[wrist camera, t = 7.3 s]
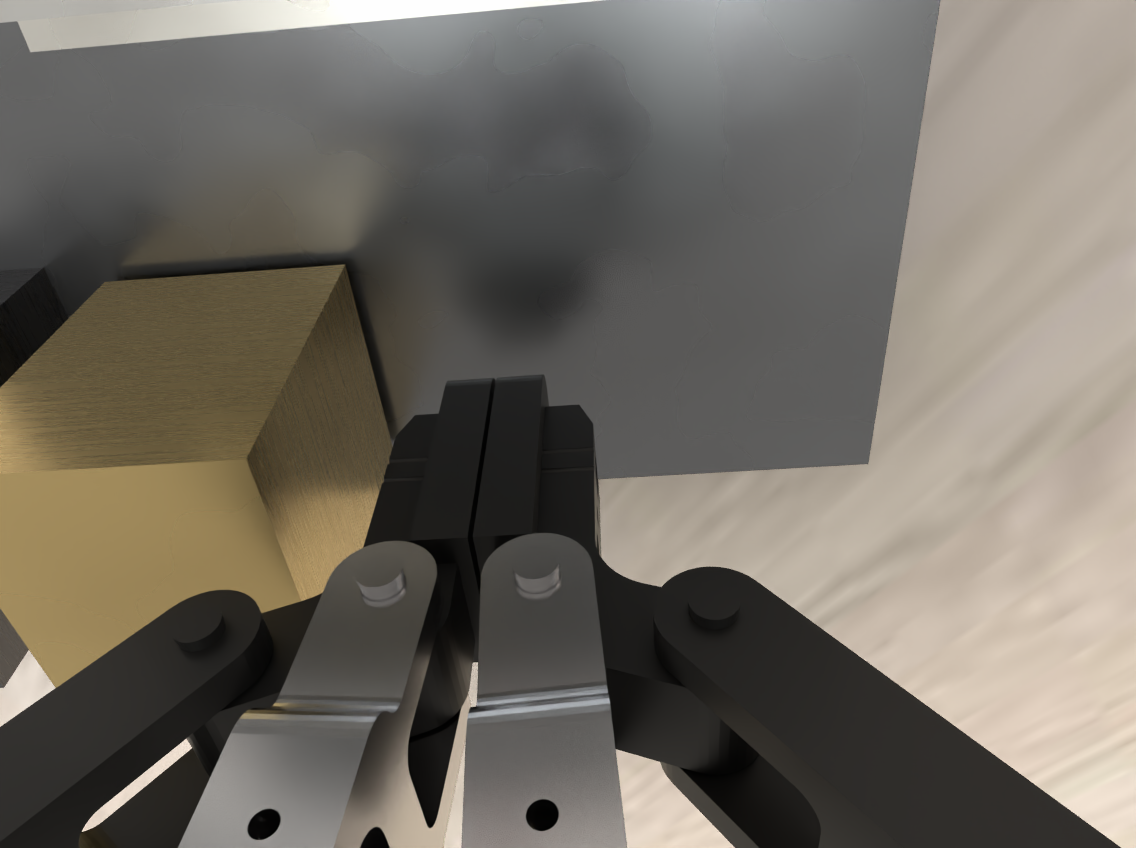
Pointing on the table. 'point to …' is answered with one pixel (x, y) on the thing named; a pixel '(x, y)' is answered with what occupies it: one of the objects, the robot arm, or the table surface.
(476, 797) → the robot arm
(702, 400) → the press frame
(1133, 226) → the table surface
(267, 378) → the slider
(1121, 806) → the table surface
